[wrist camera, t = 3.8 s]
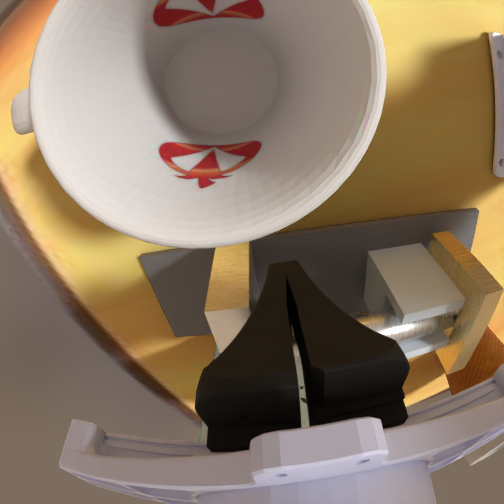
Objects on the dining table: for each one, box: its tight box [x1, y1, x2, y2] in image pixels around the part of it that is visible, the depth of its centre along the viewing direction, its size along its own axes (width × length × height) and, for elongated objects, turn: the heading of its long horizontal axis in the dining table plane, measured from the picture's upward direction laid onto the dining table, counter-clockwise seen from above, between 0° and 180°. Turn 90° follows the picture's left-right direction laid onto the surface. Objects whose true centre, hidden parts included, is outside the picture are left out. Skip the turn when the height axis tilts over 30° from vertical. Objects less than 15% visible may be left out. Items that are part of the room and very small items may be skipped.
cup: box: [11, 0, 387, 249], centre depth 8 cm, size 11×8×8 cm
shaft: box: [204, 241, 461, 363], centre depth 13 cm, size 6×13×5 cm, turn 99°
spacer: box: [429, 231, 503, 375], centre depth 13 cm, size 6×1×5 cm, turn 9°
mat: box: [140, 208, 479, 337], centre depth 17 cm, size 7×21×1 cm, turn 99°
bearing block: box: [364, 243, 465, 359], centre depth 14 cm, size 4×4×6 cm
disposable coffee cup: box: [445, 326, 504, 465], centre depth 17 cm, size 10×10×12 cm
